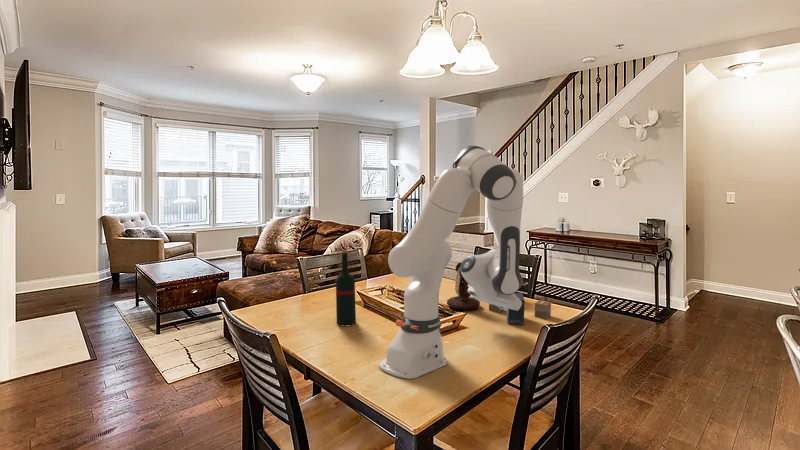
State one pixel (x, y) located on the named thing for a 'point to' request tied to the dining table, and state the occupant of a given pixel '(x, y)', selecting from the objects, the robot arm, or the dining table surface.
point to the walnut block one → (543, 309)
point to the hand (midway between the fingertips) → (504, 308)
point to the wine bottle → (345, 295)
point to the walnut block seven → (494, 308)
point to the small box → (516, 312)
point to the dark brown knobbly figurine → (462, 294)
